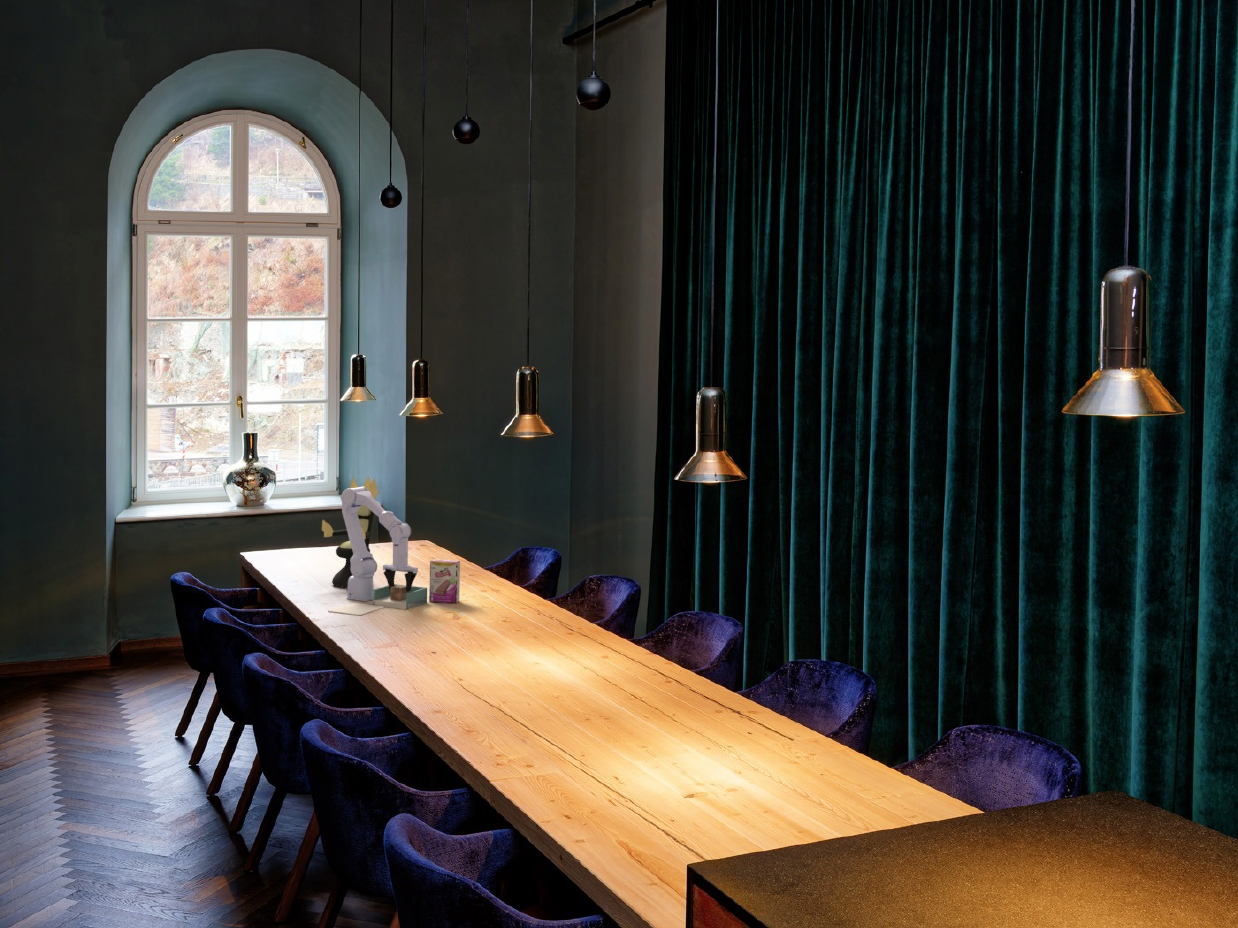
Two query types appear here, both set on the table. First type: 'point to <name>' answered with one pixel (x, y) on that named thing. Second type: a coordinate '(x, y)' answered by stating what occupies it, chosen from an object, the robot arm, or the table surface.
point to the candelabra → (345, 548)
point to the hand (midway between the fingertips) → (400, 589)
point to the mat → (356, 609)
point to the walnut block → (398, 592)
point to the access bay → (412, 600)
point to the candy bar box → (444, 581)
